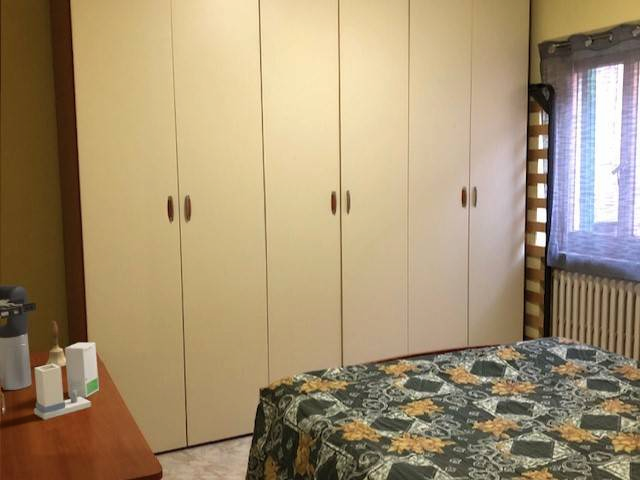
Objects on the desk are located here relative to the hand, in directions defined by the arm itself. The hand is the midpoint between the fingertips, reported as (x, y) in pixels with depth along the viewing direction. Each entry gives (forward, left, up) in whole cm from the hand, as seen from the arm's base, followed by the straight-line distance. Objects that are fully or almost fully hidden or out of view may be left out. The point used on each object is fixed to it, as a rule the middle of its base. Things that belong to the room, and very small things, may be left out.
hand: (29, 303), depth 207 cm
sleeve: (+5, -4, -30) cm, 31 cm away
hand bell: (-11, +47, -32) cm, 58 cm away
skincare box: (+9, +13, -32) cm, 36 cm away
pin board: (+8, -1, -32) cm, 33 cm away
